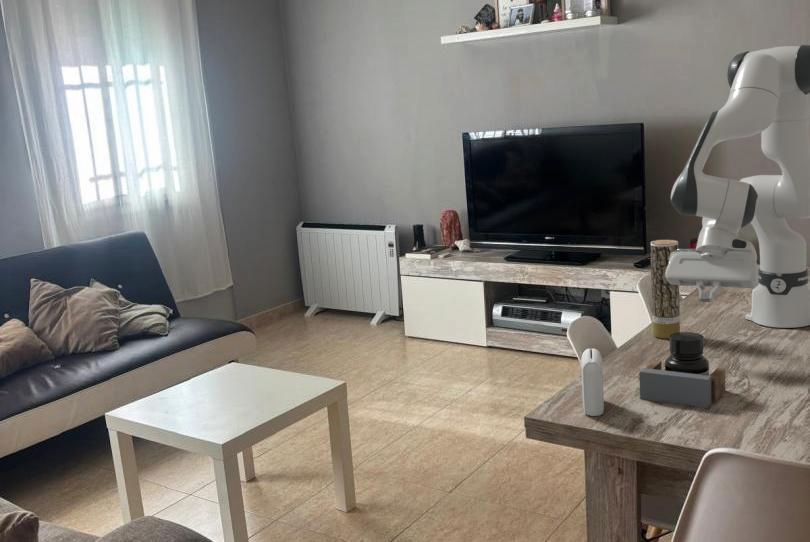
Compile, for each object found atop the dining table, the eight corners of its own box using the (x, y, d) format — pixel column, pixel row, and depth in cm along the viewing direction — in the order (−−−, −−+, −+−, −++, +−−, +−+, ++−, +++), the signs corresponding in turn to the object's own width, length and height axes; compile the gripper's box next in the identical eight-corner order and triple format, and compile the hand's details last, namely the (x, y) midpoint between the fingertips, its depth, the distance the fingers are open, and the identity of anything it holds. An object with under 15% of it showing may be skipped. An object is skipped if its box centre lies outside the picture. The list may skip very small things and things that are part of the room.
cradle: (655, 381, 183) (654, 360, 182) (725, 390, 174) (725, 367, 173) (642, 394, 176) (641, 372, 175) (714, 403, 167) (714, 380, 166)
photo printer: (583, 398, 177) (580, 343, 174) (603, 398, 176) (601, 343, 173) (583, 417, 167) (580, 359, 164) (604, 417, 166) (602, 358, 163)
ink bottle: (678, 400, 171) (677, 345, 169) (655, 387, 179) (654, 334, 177) (719, 392, 173) (719, 338, 171) (695, 380, 182) (694, 328, 179)
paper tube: (681, 339, 211) (679, 243, 206) (654, 339, 213) (651, 245, 208) (678, 331, 218) (676, 239, 213) (651, 332, 219) (649, 240, 214)
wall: (644, 394, 176) (643, 368, 175) (711, 403, 168) (711, 375, 166) (640, 398, 174) (639, 371, 173) (708, 408, 166) (707, 379, 164)
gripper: (668, 241, 196) (656, 291, 190) (759, 242, 184) (749, 296, 178) (675, 255, 200) (663, 305, 194) (764, 257, 188) (755, 310, 182)
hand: (705, 301), depth 186 cm, fingers closed
